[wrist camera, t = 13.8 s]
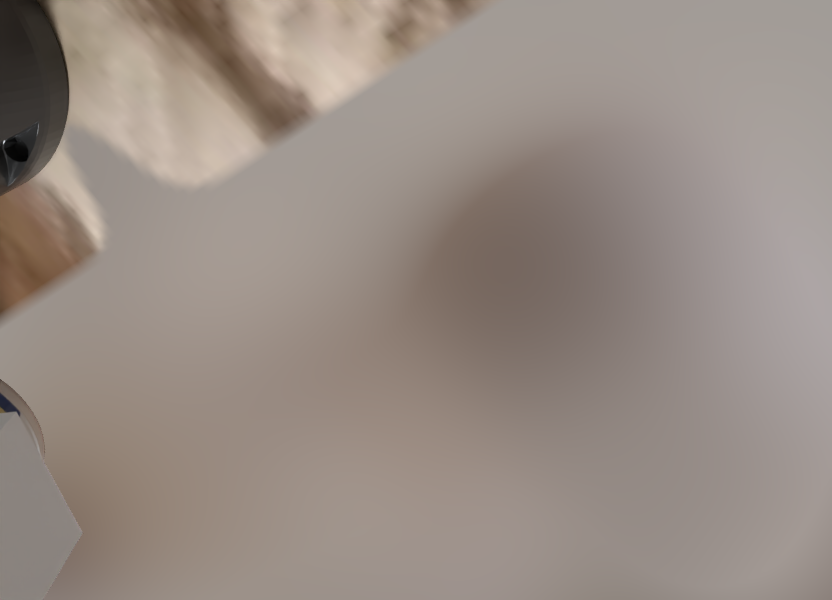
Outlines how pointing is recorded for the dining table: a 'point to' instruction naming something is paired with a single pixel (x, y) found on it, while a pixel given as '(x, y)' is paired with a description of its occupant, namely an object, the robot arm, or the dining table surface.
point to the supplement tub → (21, 414)
